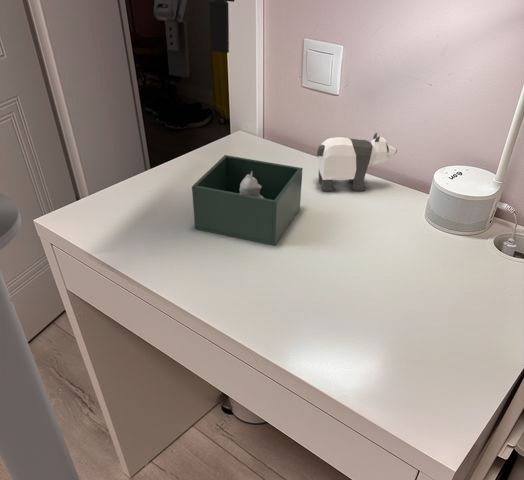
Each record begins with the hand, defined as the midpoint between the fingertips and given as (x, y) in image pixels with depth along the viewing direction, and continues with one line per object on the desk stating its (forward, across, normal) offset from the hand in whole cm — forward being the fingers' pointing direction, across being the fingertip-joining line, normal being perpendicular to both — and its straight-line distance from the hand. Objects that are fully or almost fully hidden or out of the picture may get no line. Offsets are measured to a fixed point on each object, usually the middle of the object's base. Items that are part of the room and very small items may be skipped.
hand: (200, 63), depth 78 cm
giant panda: (+23, +19, -21) cm, 37 cm away
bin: (+23, 0, -8) cm, 25 cm away
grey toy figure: (+23, 0, -8) cm, 24 cm away
